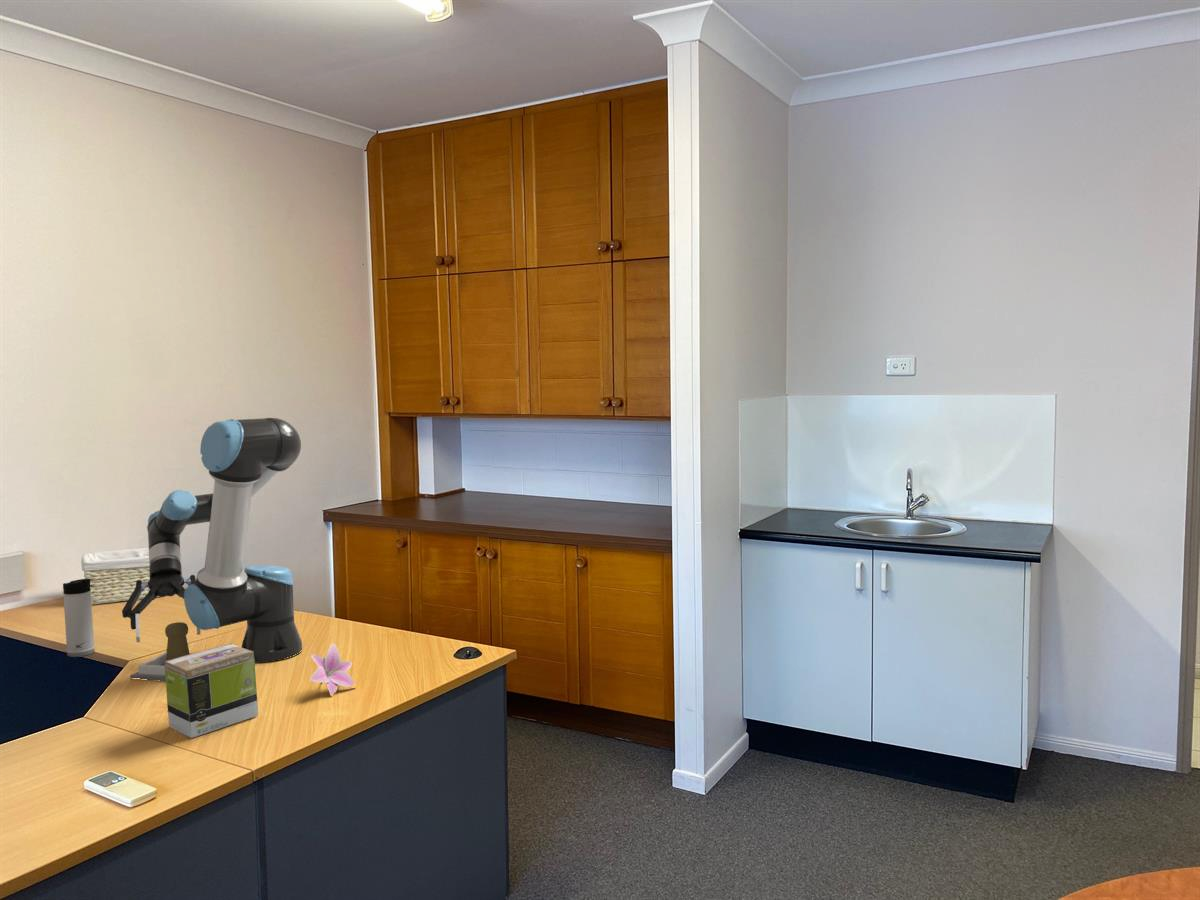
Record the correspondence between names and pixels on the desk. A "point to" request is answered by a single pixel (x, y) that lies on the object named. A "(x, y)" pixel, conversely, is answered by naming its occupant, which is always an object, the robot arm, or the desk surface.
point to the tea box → (211, 689)
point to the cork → (176, 640)
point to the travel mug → (78, 618)
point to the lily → (332, 670)
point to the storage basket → (116, 574)
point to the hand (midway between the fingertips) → (168, 635)
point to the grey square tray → (152, 669)
